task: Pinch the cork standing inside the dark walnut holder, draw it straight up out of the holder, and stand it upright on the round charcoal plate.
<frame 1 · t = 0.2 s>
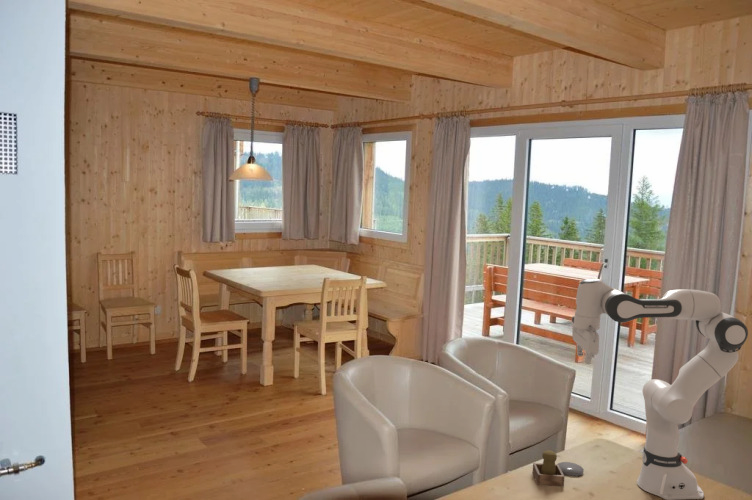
hand: (583, 359, 228), 47 cm above the table, tool pointing down, fingers open, 8 cm apart
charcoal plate: (569, 470, 242), on the table
cork: (547, 480, 234), resting in walnut holder
walnut holder: (547, 479, 234), on the table
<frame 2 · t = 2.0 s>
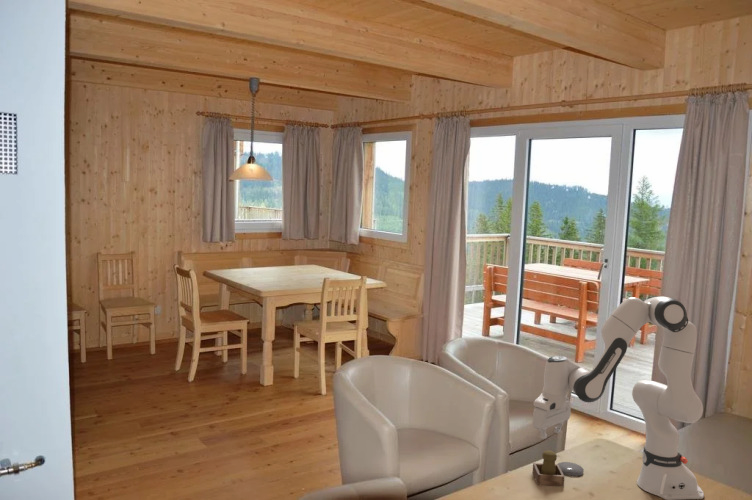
hand: (550, 435, 232), 18 cm above the table, tool pointing down, fingers open, 8 cm apart
nothing on the table moved.
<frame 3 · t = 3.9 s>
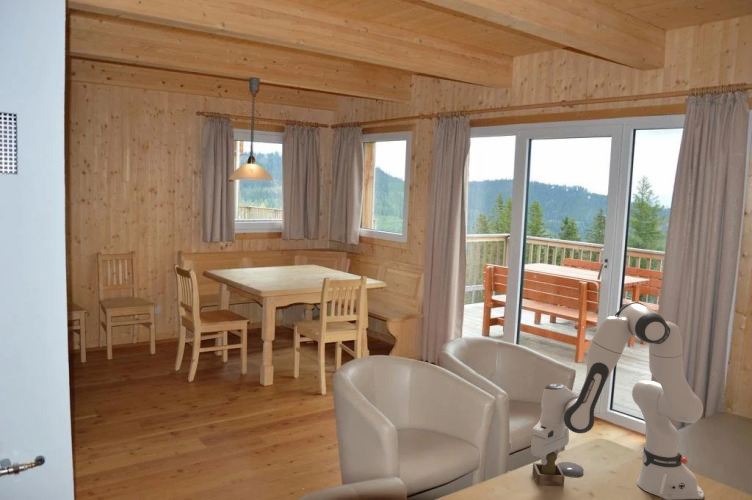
hand: (549, 461, 233), 7 cm above the table, tool pointing down, fingers closed on cork, 5 cm apart
cork: (547, 480, 234), resting in walnut holder, touching gripper
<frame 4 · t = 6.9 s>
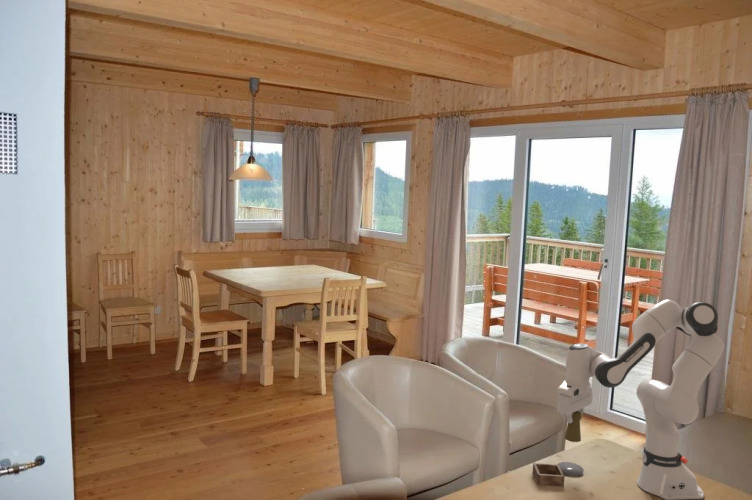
hand: (574, 420, 239), 21 cm above the table, tool pointing down, fingers closed on cork, 5 cm apart
cork: (572, 439, 240), point 13 cm above the table, touching gripper
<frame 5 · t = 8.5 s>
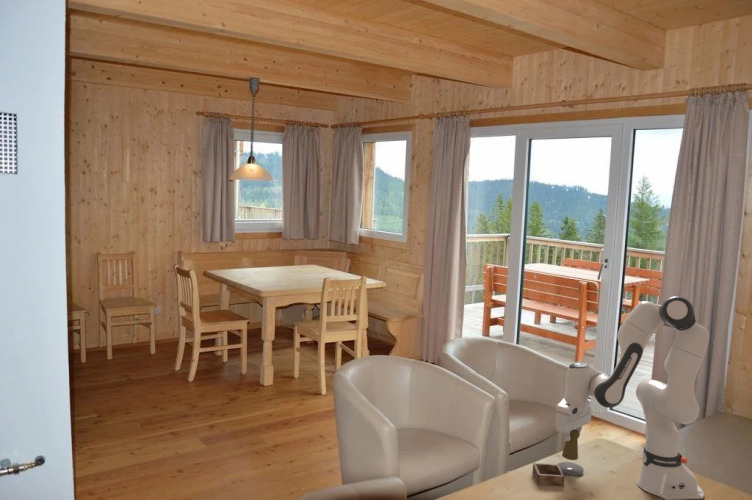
hand: (572, 438, 241), 13 cm above the table, tool pointing down, fingers closed on cork, 5 cm apart
cork: (569, 457, 241), point 5 cm above the table, touching gripper
when the fingers open (10 cm above the table, at t = 10.0 s): cork drops 1 cm, resting on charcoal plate.
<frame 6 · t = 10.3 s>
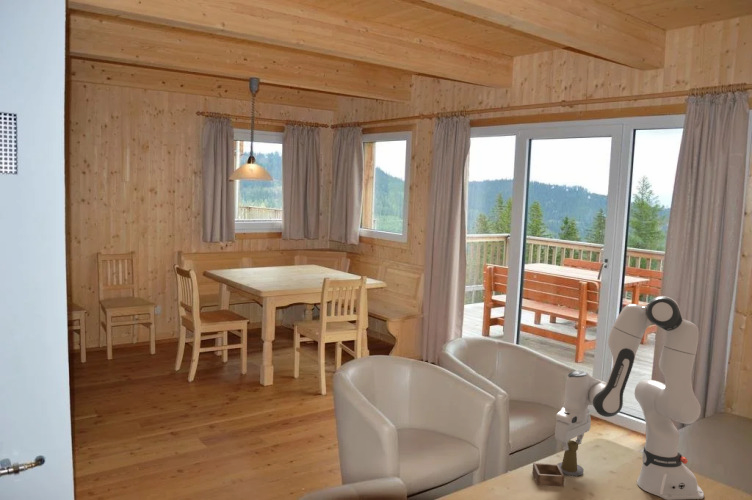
hand: (572, 446, 241), 10 cm above the table, tool pointing down, fingers open, 8 cm apart
cork: (569, 468, 241), point 1 cm above the table, touching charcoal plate
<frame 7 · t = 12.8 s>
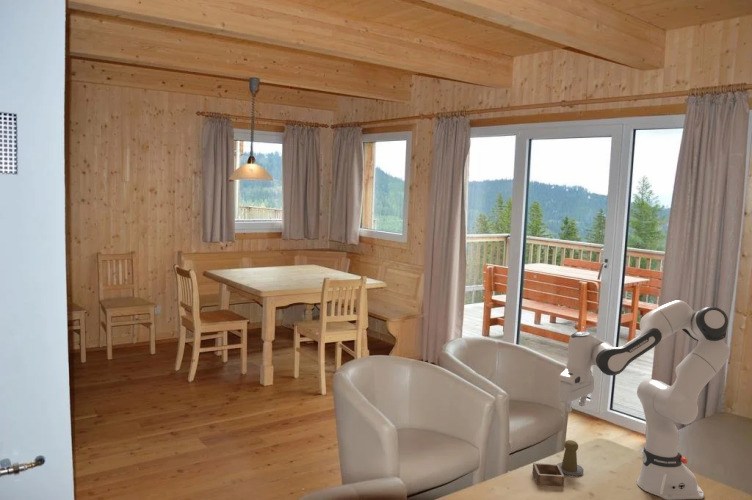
hand: (575, 408, 240), 25 cm above the table, tool pointing down, fingers open, 8 cm apart
nothing on the table moved.
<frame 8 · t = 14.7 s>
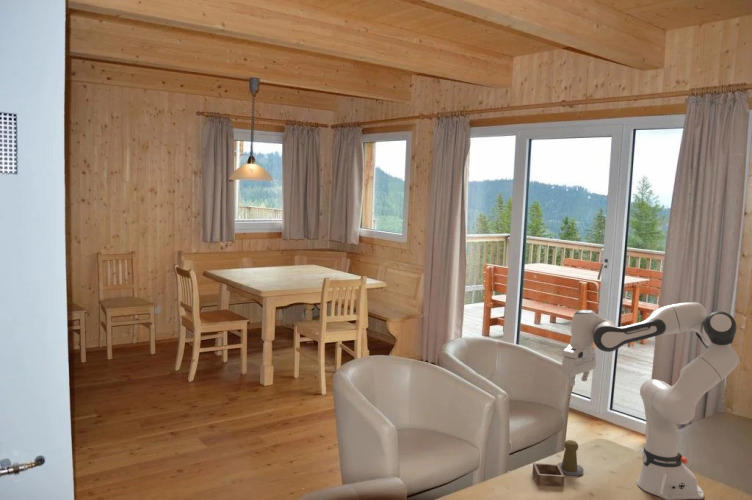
hand: (578, 383, 251), 31 cm above the table, tool pointing down, fingers open, 8 cm apart
nothing on the table moved.
at the end: cork 0.8 cm off-centre on the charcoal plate, point 0.8 cm above the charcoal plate's base; cork tilted 0°; the gripper is holding nothing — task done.
